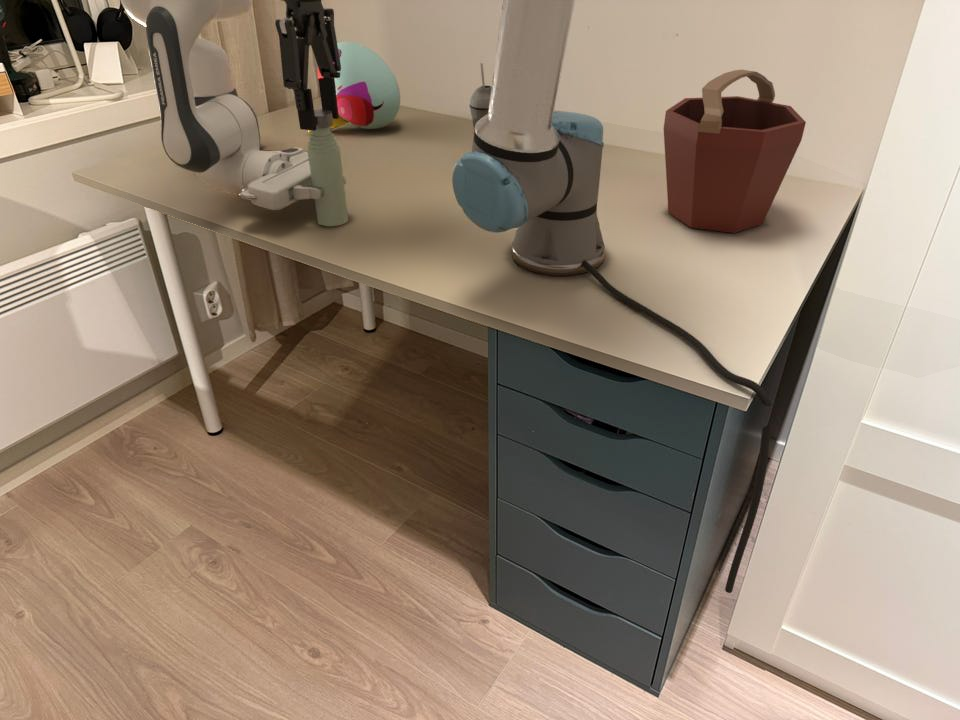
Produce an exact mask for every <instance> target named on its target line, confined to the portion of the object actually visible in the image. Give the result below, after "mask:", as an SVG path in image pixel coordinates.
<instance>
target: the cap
mask: <svg viewBox="0 0 960 720" xmlns="http://www.w3.org/2000/svg"><path fill="white" fill-rule="evenodd" d="M314 114H315V121H316V129H321V128H328V127H331V126H332V125H333V117H332V111H330V110H325V109H322V108H319V109H314Z"/></svg>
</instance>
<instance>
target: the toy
mask: <svg viewBox="0 0 960 720" xmlns="http://www.w3.org/2000/svg"><path fill="white" fill-rule="evenodd" d="M337 45H338V51H339V57H340V63H341V71H340V78H334V79H335V87H336V97H337V106H338V114H339V118H338V119H333V125H332V126H331V127H330V129H331V130H333V129H336V128H339V127H342V126H345V125H347V124H351V125H353V126H356V127H358V128H361V129H366V130H378V129H382V128H384V127H386V126H388V125H390V124H391V123H392V122H393V121H394V120H395V118H396V117H397V115H398V113H399V111H400V107H401V91H400V86H399V84H398V80H397V78H396V76H395V74H394V72H393V71H392V69H391V67H390V66H389V65H388V64H387V62H386V61H385V60H384V59H383V58H382V57H381V56H380V55H379V54H378V53H376V52H375V51H374V50H372V49H370V48H369V47H367V46H365V45H362V44H360V43H357V42H353V41H352V42H351V41H341V42H337ZM333 63H334V62H333ZM337 72H338V71H337ZM319 78H324V77H322V76H321V74H320V71H319V68H318V67H317V80H318V79H319ZM307 132H308V134H311V133H312V131H311V130H307Z"/></svg>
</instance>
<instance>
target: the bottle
mask: <svg viewBox="0 0 960 720" xmlns="http://www.w3.org/2000/svg"><path fill="white" fill-rule="evenodd" d="M311 131H312V130H311ZM309 135H310V137H309V139H308V140H309V141H308V143H307V144H308V145H307V149H306V150H307V151H306V152H308V158H309V165H310V172H311V179H312V185H313V187H314V186H317V187H322V188H323V193H324V196H323V197H321V198H320V199H314V205H315V212H316V219H317V223H318V224H319V225H321V226H324V227H338V226H341V225H344V224H346V223H348V221H349V215H348V214H349V213H348V206H347V199H346V198H347V197H346V190H345V184H344V180H343V175H344V173H343V165H342V155H341V147H340V146H339V143H338V142H337V141H338V140H337V138H336V137H335V135H334V134H333V131H332V129H330V127H328V128H321V129H317V130H315V131H312V133H309Z"/></svg>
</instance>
